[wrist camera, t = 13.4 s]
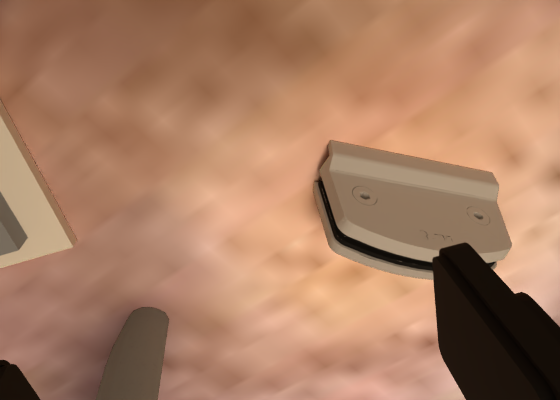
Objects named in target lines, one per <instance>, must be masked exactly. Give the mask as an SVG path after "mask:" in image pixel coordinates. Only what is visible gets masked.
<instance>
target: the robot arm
mask: <svg viewBox="0 0 560 400" xmlns="http://www.w3.org/2000/svg"><path fill="white" fill-rule="evenodd" d="M432 266H433V279H434V292H435V305H436V317H437V330H438V343H439V349H440V352H441V355H442V358H443V360H444V362H445V364H446V365H447V367H448V369H449V371H450V372H451V374H452V376H453V378H454V379H455V381H456V383H457V385H458V386H459V388H460V390H461V392H462V393H463V395H464V397H465V399H466V400H560V327H559V326H558V325H557V324H556V323H555V322H554V321H553V320H552V319H551V317H550V316H549V315H548V314H547V313H546V312H545V311H544V310H543V309H542V308H541V307H540V306H539V305H538V304H537V303H536V302H535V301H534V300H533V299H532V298H531V297H530V296H529V295H528V294H526V293H523V292H520V293H516V294H514V293H513V292H512V291H511V289H510V288H509V287H508V286H507V285H506V284H505V283H504V282H503V281H502V280H501V278H500V277H499V276H498V275H497V274H496V273H495V272H494V271H493V270H492V268H491V267H490V266H489V265H488V264H487V263H486V262H485V261H484V260H483V259H482V257H481V256H480V255H479V254H478V253H477V252H476V251H475V250H474V249H473V248H472V246H471V245H470V244H468V243H466V242H464V243H460V244H456V245H452V246H448V247H444V248H441V249H440V250H439V256H436V257H433V259H432ZM0 400H40V398H39V397H38V395H37V394H36V392H35V391H34V390H33V388H32V387H31V385H30V384H29V382H28V381H27V379H26V378H25V376H24V375H23V373H22V372H21V371H20V369H19V368H18V367H17V366H16V365H14V364H10V363H9V362H8V361H6V360H0Z"/></svg>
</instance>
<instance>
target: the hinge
mask: <svg viewBox="0 0 560 400" xmlns="http://www.w3.org/2000/svg"><path fill="white" fill-rule="evenodd" d="M328 149H329V157H328V158H327V160H326V161H325V163H324V164H323V165H322V167H321V168H320V170H319V171H320V174H321V178H322V181H320V180H319V182H316V181H314V187H313V193H314V196H315V200H316V203H317V207H318V210H319V214H320V217H321V220H322V224H323V227H324V231H325V234H326V238H327V241H328V244H329V247H330V248H331V249H332V250H333V251H334V252H335V253H337V254H339V255H341V256H344V257H346V258H348V259H350V260H353V261H355V262H358V263H361V264H363V265H366V266H369V267H372V268H375V269H378V270H382V271H385V272H389V273H393V274H397V275H402V276H407V277H413V278H420V279H429V280H434V279H433V266H432V259H433V257H436V256H439V250H440V249H441V248H444V247H448V246H452V245H456V244H460V243H464V242H466V243H468V244H470V245H471V246H472V248H473V249H474V250H475V251H476V252H477V253H478V254H479V255H480V256H481V257H482V259H483V260H484V261H485V262H486V263H487V264H488V265H489V266H490V267H491V268H492V270H493V269H495V268H496V265H497V262H496V261H500V260H503V259H504V258H505V257H506V255H507V253H508V252H509V250H510V248H511V246H512V243H511V240H510V237H509V234H508V232H507V229H506V226H505V223H504V221H503V218H502V215H501V212H500V210H499V207H498V204H497V196H498V190H499V184H498V182H497V180H496V178H495V177H494V175H493V173H492V172H487V171H482V170H477V169H472V168H467V167H462V166H457V165H452V164H447V163H442V162H437V161H432V160H427V159H422V158H417V157H412V156H407V155H402V154H397V153H392V152H387V151H382V150H377V149H372V148H368V147H363V146H358V145H353V144H348V143H343V142H338V141H333V140H330V142H329V144H328Z"/></svg>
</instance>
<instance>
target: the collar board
mask: <svg viewBox="0 0 560 400" xmlns="http://www.w3.org/2000/svg"><path fill="white" fill-rule="evenodd" d="M76 241H77V239H76V237H75V235H74V233H73V232H72V230H71V228H70V226H69V224H68V222H67V221H66V219H65V217H64V215H63V213H62V211H61V210H60V208H59V206H58V204H57V202H56V200H55V199H54V197H53V195H52V193H51V191H50V189H49V188H48V186H47V184H46V182H45V180H44V178H43V177H42V175H41V173H40V171H39V169H38V167H37V166H36V164H35V162H34V160H33V158H32V156H31V155H30V153H29V151H28V149H27V147H26V145H25V144H24V142H23V140H22V138H21V136H20V134H19V133H18V131H17V129H16V127H15V125H14V123H13V122H12V120H11V118H10V116H9V114H8V112H7V111H6V109H5V107H4V105H3V103H2V101H1V100H0V268H3V267H6V266H10V265H13V264H17V263H20V262H24V261H27V260H31V259H34V258H38V257H41V256H44V255H48V254H51V253H55V252H58V251H62V250H65V249H69V248H72V247H74V245H75V243H76Z"/></svg>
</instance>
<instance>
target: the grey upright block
mask: <svg viewBox="0 0 560 400" xmlns="http://www.w3.org/2000/svg"><path fill="white" fill-rule="evenodd" d="M168 323H169V318H168V316H167V315H166V313H165V312H163V311H161V310H159V309H156V308H150V307H142V308H139V309H137V310H134V311H133V312H132V314H131V315H130V316H129V317H128V319H127V321H126V323H125V325H124V327H123V329H122V331H121V333H120V334H119V336H118V338H117V340H116V342H115V344H114V346H113V348H112V351H111V353H110V356H109V359H108V361H107V364H106V367H105V370H104V373H103V376H102V380H101V383H100V387H99V390H98V394H97V397H96V400H158V393H159V386H160V379H161V372H162V365H163V358H164V351H165V344H166V337H167V330H168Z"/></svg>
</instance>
